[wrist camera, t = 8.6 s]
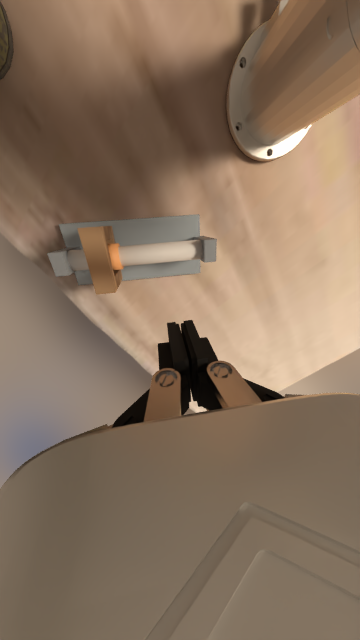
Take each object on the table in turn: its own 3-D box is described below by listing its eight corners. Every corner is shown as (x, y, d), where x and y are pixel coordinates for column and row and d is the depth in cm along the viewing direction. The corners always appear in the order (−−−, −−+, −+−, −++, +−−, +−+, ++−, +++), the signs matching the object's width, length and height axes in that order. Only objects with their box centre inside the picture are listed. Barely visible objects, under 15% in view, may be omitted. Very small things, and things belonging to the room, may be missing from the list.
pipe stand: (61, 224, 28) (32, 224, 21) (201, 214, 30) (217, 211, 23) (80, 283, 32) (61, 299, 25) (202, 271, 34) (215, 283, 27)
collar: (94, 227, 27) (77, 228, 20) (111, 225, 27) (100, 226, 20) (107, 279, 30) (96, 294, 24) (122, 278, 30) (115, 292, 24)
